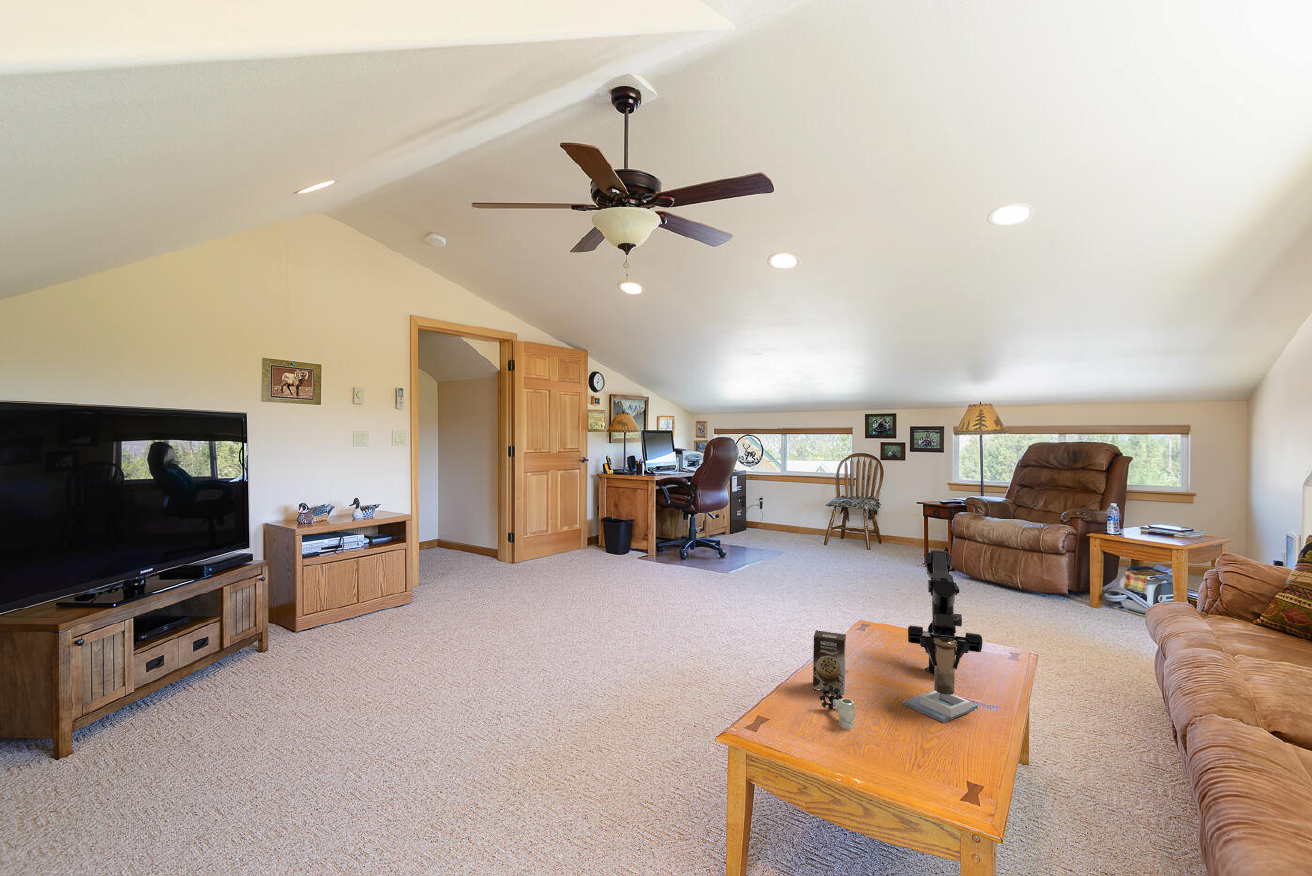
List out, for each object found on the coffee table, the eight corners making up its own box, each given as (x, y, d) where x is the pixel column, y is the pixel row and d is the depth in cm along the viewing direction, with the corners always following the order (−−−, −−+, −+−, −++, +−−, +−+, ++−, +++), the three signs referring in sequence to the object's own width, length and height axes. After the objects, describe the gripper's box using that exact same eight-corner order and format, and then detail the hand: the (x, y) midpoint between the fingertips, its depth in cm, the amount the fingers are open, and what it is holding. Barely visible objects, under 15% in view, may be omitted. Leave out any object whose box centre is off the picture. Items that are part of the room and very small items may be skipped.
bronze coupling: (934, 684, 161) (935, 635, 161) (957, 689, 158) (958, 639, 158) (931, 691, 156) (932, 641, 156) (954, 697, 153) (955, 645, 153)
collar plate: (937, 692, 168) (937, 681, 168) (979, 709, 157) (979, 697, 157) (903, 704, 160) (903, 693, 160) (945, 723, 149) (945, 711, 149)
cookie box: (812, 690, 169) (812, 635, 169) (814, 681, 175) (815, 629, 175) (844, 695, 166) (844, 640, 166) (845, 686, 172) (846, 633, 172)
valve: (862, 729, 146) (841, 708, 158) (862, 703, 146) (841, 684, 158) (838, 731, 145) (818, 709, 157) (838, 705, 145) (818, 685, 157)
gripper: (908, 597, 164) (907, 648, 154) (981, 605, 157) (986, 659, 147) (908, 616, 172) (907, 666, 161) (978, 625, 164) (983, 678, 154)
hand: (944, 667), depth 156 cm, fingers closed on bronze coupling, 5 cm apart
